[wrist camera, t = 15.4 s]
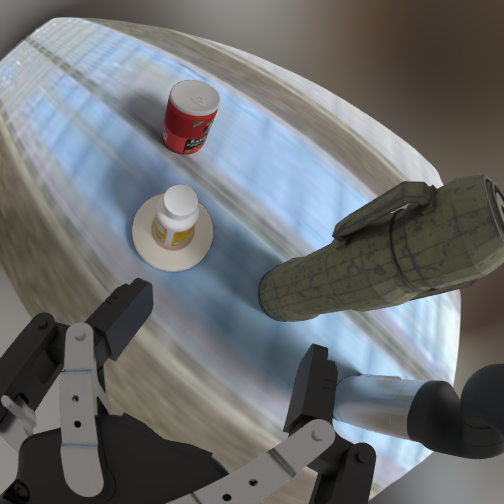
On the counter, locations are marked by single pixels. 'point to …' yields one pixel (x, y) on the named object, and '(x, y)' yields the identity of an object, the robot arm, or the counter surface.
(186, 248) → the coaster
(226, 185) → the counter surface
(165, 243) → the supplement bottle
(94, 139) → the counter surface
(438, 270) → the thermos
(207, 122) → the canned food
